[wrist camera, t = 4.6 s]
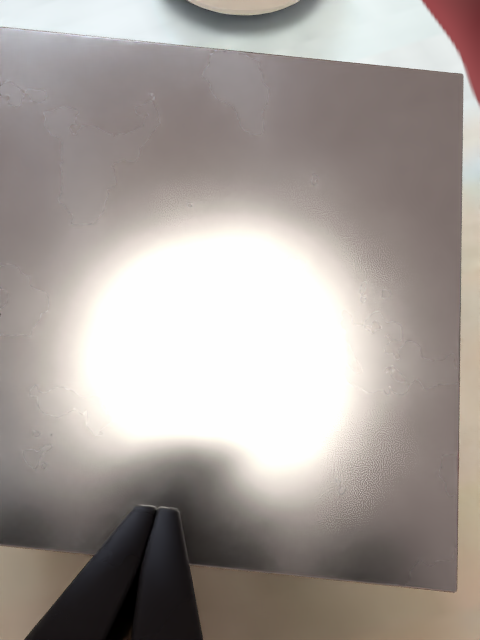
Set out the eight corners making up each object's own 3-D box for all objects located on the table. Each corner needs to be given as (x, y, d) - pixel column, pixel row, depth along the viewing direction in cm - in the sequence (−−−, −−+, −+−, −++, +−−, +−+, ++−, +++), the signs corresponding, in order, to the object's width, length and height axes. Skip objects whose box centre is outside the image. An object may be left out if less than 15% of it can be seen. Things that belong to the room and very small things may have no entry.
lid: (1, 45, 14) (-13, 23, 13) (451, 91, 14) (464, 72, 13) (-107, 524, 11) (-132, 533, 11) (442, 581, 11) (458, 594, 11)
